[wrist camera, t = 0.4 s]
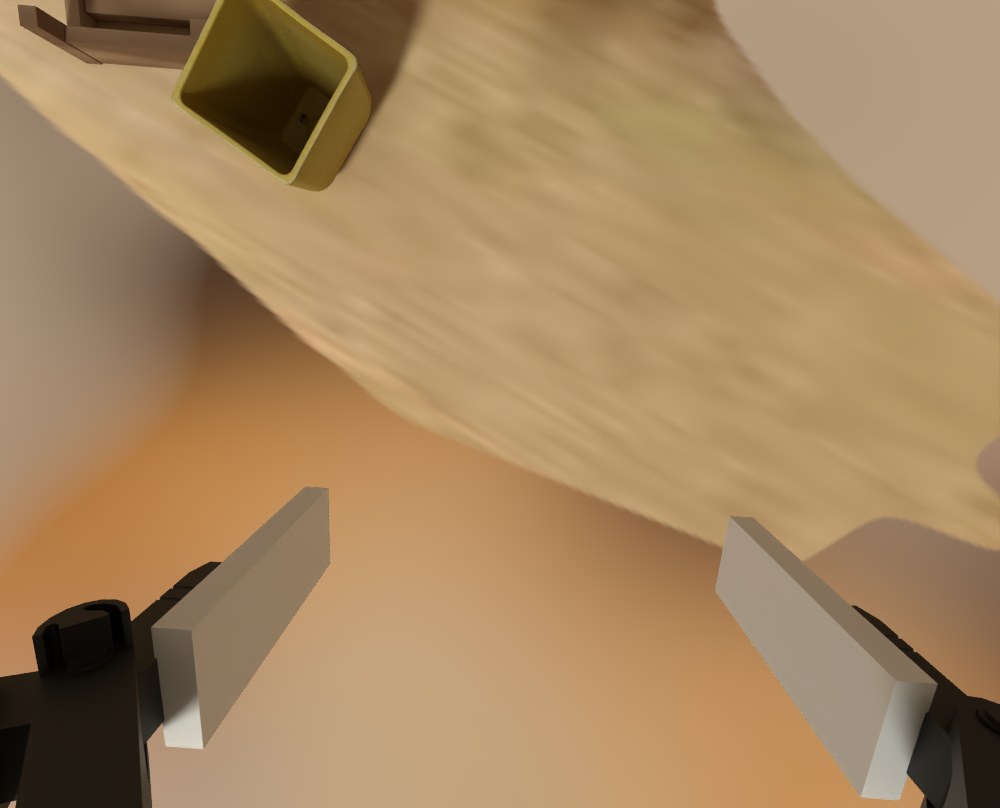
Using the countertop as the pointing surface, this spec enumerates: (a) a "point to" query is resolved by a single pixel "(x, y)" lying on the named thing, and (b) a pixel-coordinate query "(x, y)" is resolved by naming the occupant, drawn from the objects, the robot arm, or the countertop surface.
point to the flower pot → (275, 90)
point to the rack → (142, 3)
